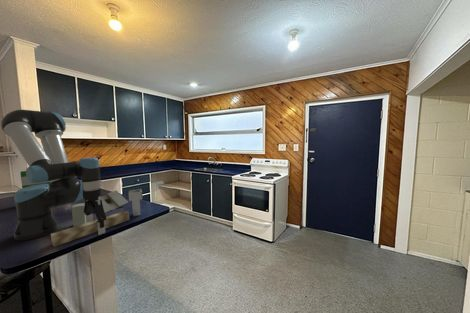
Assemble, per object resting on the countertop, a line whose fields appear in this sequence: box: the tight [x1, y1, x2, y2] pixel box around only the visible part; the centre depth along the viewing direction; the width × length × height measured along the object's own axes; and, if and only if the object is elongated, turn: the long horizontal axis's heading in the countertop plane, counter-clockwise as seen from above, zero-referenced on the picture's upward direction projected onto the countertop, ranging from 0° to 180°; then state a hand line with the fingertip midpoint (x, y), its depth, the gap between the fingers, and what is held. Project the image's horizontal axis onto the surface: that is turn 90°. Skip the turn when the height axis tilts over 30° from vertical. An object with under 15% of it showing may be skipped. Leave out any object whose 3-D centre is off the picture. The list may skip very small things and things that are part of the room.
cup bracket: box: [128, 188, 143, 217], centre depth 116 cm, size 7×7×14 cm
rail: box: [50, 210, 130, 248], centre depth 97 cm, size 32×4×5 cm, turn 146°
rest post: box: [71, 202, 86, 227], centre depth 103 cm, size 5×5×11 cm
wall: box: [98, 190, 129, 214], centre depth 131 cm, size 16×9×15 cm
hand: (95, 230), depth 97 cm, fingers open, 13 cm apart
